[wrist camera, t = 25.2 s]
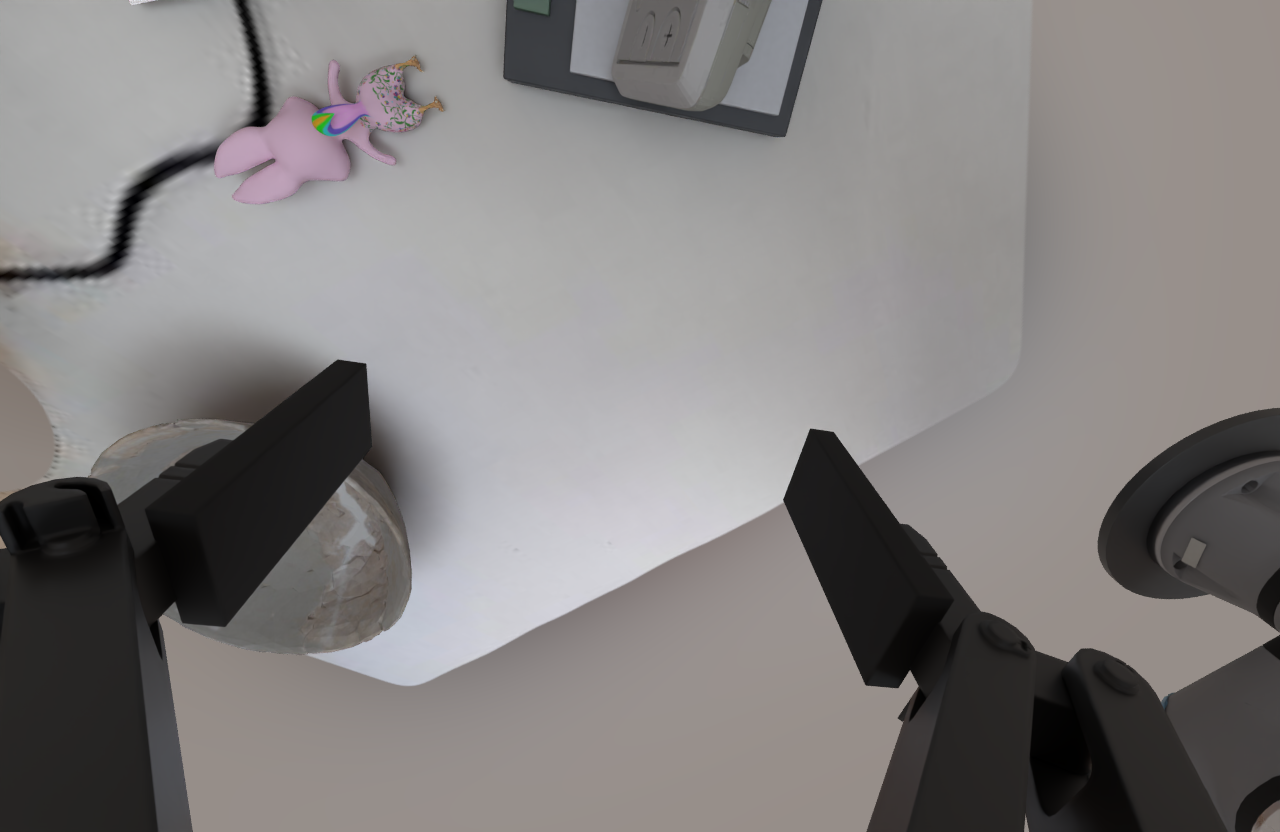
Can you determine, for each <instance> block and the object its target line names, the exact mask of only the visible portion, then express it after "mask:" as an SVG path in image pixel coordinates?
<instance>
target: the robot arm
mask: <svg viewBox="0 0 1280 832" xmlns="http://www.w3.org/2000/svg"><path fill="white" fill-rule="evenodd" d="M371 448H372V438H371V424H370V410H369V396H368V382H367V369H366V364H364V363H358V362H351V361H344V360H336V361H335V362H334V363H333V364H331V365H330V366H329V367H327V368H326V369H325V370H323V371H322V372H321V373H320V374H318V375H317V376H316V377H314V378H313V379H312V380H311V381H309V382H308V383H307V384H305V385H304V386H303V387H301V388H300V389H299V390H298V391H296V392H295V393H294V394H292V395H291V396H290V397H289V398H287V399H286V400H285V401H283V402H282V403H281V404H280V405H278V406H277V407H276V408H274V409H273V410H272V411H270V412H269V413H268V414H267V415H265V416H264V417H263V418H261V419H260V420H259V421H258V422H256V423H255V424H254V425H252V426H251V427H250V428H248V429H247V430H246V431H245V432H243V433H242V434H241V435H239V436H238V437H237V438H236V439H234V440H228V439H218V440H216V441H213V442H211V443H208V444H206V445H203V446H201V447H198V448H196V449H194V450H192V451H191V452H190V453H188V454H187V455H185V456H184V457H183V458H181V459H180V460H179V461H177V462H176V463H175V466H170V467H169V468H168V469H166V470H165V471H163V472H162V473H161V474H159V477H158V478H154V479H152V480H151V481H150V482H148V483H147V484H145V485H144V486H143V487H141V488H140V489H139V490H137V491H136V492H134V493H133V494H132V495H130V496H129V497H127V498H126V499H125V500H123V501H122V502H121V503H119V504H118V505H117V502H116V500H115V497H114V494H113V491H112V489H111V487H110V486H109V484H108V483H107V482H105V481H102V480H99V479H96V478H86V477H72V478H64V479H55V480H51V481H47V482H43V483H40V484H36V485H32V486H30V487H27V488H25V489H22V490H20V491H18V492H15V493H13V494H11V495H9V496H8V497H6V498H5V499H3V500H2V501H0V536H1V537H2V539H3V541H4V543H5V545H6V547H7V548H5V549H0V832H193V830H192V824H191V817H190V810H189V804H188V797H187V790H186V784H185V778H184V770H183V763H182V757H181V750H180V744H179V737H178V730H177V723H176V717H175V710H174V703H173V697H172V691H171V683H170V677H169V670H168V663H167V657H166V650H165V643H164V637H163V631H162V628H161V625H160V622H159V617H160V616H161V615H162V614H163V613H164V612H165V611H166V610H167V609H168V608H169V607H170V606H171V605H172V604H173V603H174V602H175V603H176V606H177V609H178V612H179V615H180V618H181V621H182V623H184V624H195V625H206V626H217V627H226V626H227V625H228V623H229V622H230V621H231V620H232V618H233V617H234V616H235V615H236V613H237V612H238V611H239V610H240V609H241V607H242V606H243V605H244V604H245V602H246V601H247V600H248V599H249V597H250V596H251V595H252V594H253V593H254V591H255V590H256V589H257V588H258V586H259V585H260V584H261V583H262V582H263V580H264V579H265V578H266V577H267V575H268V574H269V573H270V572H271V570H272V569H273V568H274V567H275V566H276V564H277V563H278V562H279V561H280V559H281V558H282V557H283V556H284V554H285V553H286V552H287V551H288V550H289V548H290V547H291V546H292V545H293V543H294V542H295V541H296V540H297V538H298V537H299V536H300V535H301V534H302V532H303V531H304V530H305V529H306V527H307V526H308V525H309V524H310V523H311V521H312V520H313V519H314V518H315V516H316V515H317V514H318V513H319V511H320V510H321V509H322V508H323V507H324V505H325V504H326V503H327V502H328V500H329V499H330V498H331V497H332V495H333V494H334V493H335V492H336V491H337V489H338V488H339V487H340V486H341V484H342V483H343V482H344V481H345V480H346V478H347V477H348V476H349V475H350V473H351V472H352V471H353V470H354V468H355V467H356V466H357V465H358V464H359V462H360V461H361V460H362V459H363V457H364V456H365V455H366V454H367V452H368V451H369V450H370V449H371ZM783 501H784V503H785V505H786V507H787V510H788V512H789V514H790V516H791V519H792V521H793V523H794V525H795V528H796V530H797V532H798V534H799V537H800V539H801V541H802V543H803V545H804V548H805V550H806V552H807V554H808V556H809V559H810V561H811V563H812V566H813V568H814V570H815V573H816V575H817V577H818V579H819V582H820V584H821V586H822V588H823V591H824V593H825V595H826V597H827V600H828V602H829V604H830V606H831V609H832V611H833V613H834V615H835V617H836V620H837V622H838V624H839V626H840V629H841V631H842V633H843V635H844V637H845V640H846V642H847V644H848V647H849V649H850V651H851V653H852V656H853V658H854V660H855V662H856V665H857V667H858V669H859V671H860V674H861V676H862V678H863V680H864V682H865V685H867V686H878V687H890V688H899V686H900V685H901V683H902V682H903V680H904V678H905V677H906V675H907V674H908V672H909V671H910V670H911V672H912V674H913V676H914V678H915V680H916V681H917V684H918V685H919V687H918V688H917V690H916V691H915V693H914V694H913V696H912V698H911V699H910V700H909V702H908V703H907V705H906V706H905V708H904V709H903V711H902V712H901V714H900V715H899V717H898V719H899V720H901V721H904V722H903V725H902V728H901V731H900V734H899V737H898V740H897V743H896V746H895V749H894V751H893V754H892V757H891V760H890V764H889V766H888V769H887V773H886V775H885V779H884V781H883V784H882V787H881V790H880V793H879V796H878V799H877V802H876V805H875V808H874V811H873V814H872V817H871V820H870V823H869V826H868V829H867V832H1024V825H1025V813H1026V818H1027V823H1028V828H1029V832H1280V635H1279V636H1277V637H1276V638H1274V639H1272V640H1270V641H1269V642H1267V643H1265V644H1263V646H1260V647H1258V648H1256V649H1254V650H1253V651H1251V652H1249V653H1247V654H1245V655H1244V656H1242V657H1240V658H1238V659H1236V660H1234V661H1232V662H1231V663H1229V664H1227V665H1225V666H1223V667H1221V668H1220V669H1218V670H1216V671H1214V672H1212V673H1210V674H1209V675H1207V676H1205V677H1203V678H1201V679H1199V680H1198V681H1196V682H1194V683H1192V684H1191V685H1189V686H1187V687H1185V688H1183V689H1181V690H1179V691H1177V692H1176V693H1171V694H1168V696H1166V697H1164V699H1163V700H1162V702H1160V700H1159V698H1158V696H1157V695H1156V693H1155V692H1154V690H1153V689H1152V688H1151V686H1150V685H1149V683H1148V682H1147V681H1146V680H1145V679H1144V678H1142V677H1141V676H1140V675H1139V674H1138V673H1137V672H1136V671H1135V670H1134V669H1133V668H1131V667H1130V666H1129V665H1126V663H1124V662H1123V661H1121V660H1119V659H1117V658H1114V657H1113V656H1111V655H1109V654H1107V653H1105V652H1101V651H1098V650H1094V649H1091V648H1090V649H1080V650H1079V651H1078V652H1077V653H1076V654H1075V655H1074V657H1073V658H1072V659H1071V660H1070V661H1069V662H1066V661H1063V660H1060V659H1057V658H1055V657H1052V656H1049V655H1046V654H1043V653H1040V652H1037V651H1035V649H1034V647H1033V646H1032V644H1031V643H1030V641H1029V640H1028V638H1027V637H1026V636H1024V635H1023V634H1022V633H1021V632H1020V631H1019V630H1018V629H1017V628H1016V627H1014V626H1013V625H1011V624H1010V623H1008V622H1006V621H1005V620H1003V619H1001V618H999V617H997V616H995V615H992V614H990V613H986V612H981V611H980V610H979V608H978V607H977V606H976V604H975V603H974V602H973V601H972V599H971V598H970V597H969V595H968V594H967V593H966V591H965V590H964V589H963V587H962V586H961V585H960V583H959V582H958V581H957V580H956V578H955V577H954V576H953V574H952V573H951V572H950V570H947V566H946V565H945V564H944V562H943V561H942V560H941V559H940V557H937V553H936V552H935V550H934V549H933V548H932V546H931V545H930V544H929V542H928V541H927V540H926V539H925V538H924V537H923V536H921V535H920V534H919V533H918V532H917V531H915V530H914V529H913V528H912V527H910V526H909V525H906V524H900V523H899V522H898V521H897V519H896V518H895V516H894V515H893V514H892V513H891V511H890V509H889V508H888V507H887V505H886V504H885V503H884V501H883V500H882V498H881V497H880V496H879V494H878V493H877V491H876V490H875V489H874V487H873V486H872V484H871V483H870V482H869V480H868V479H867V478H866V476H865V475H864V473H863V472H862V471H861V469H860V468H859V466H858V465H857V464H856V462H855V461H854V459H853V458H852V457H851V455H850V454H849V453H848V451H847V450H846V448H845V447H844V446H843V444H842V443H841V441H840V440H839V439H838V437H837V436H836V435H835V433H834V432H830V431H823V430H816V429H810V430H809V433H808V436H807V438H806V441H805V444H804V446H803V449H802V452H801V454H800V457H799V460H798V462H797V465H796V467H795V470H794V473H793V475H792V478H791V481H790V483H789V486H788V489H787V491H786V494H785V497H784V499H783ZM1147 548H1148V552H1149V555H1150V556H1151V558H1152V560H1153V561H1154V562H1155V563H1156V564H1158V565H1159V566H1160V567H1161V568H1163V569H1164V570H1165V571H1166V572H1168V573H1169V574H1170V575H1171V576H1173V577H1175V578H1177V579H1178V580H1180V581H1182V582H1184V583H1186V584H1188V585H1190V586H1193V587H1195V588H1197V589H1199V590H1202V591H1204V592H1206V593H1208V594H1211V595H1213V596H1215V597H1217V598H1220V599H1222V600H1224V601H1227V602H1229V603H1231V604H1233V605H1236V606H1238V607H1240V608H1243V609H1245V610H1247V611H1249V612H1251V613H1253V614H1255V615H1257V616H1258V617H1259V618H1261V619H1263V621H1265V622H1266V623H1268V624H1269V625H1270V626H1271V627H1273V628H1274V629H1276V630H1277V631H1278V632H1280V451H1264V452H1257V453H1252V454H1248V455H1244V456H1241V457H1237V458H1234V459H1232V460H1229V461H1226V462H1224V463H1222V464H1219V465H1217V466H1215V467H1213V468H1211V469H1209V470H1207V471H1206V472H1204V473H1202V474H1201V475H1199V476H1197V477H1196V478H1194V479H1193V480H1191V481H1190V482H1189V483H1187V484H1186V485H1185V486H1183V487H1182V488H1181V489H1180V490H1179V491H1177V492H1176V493H1175V494H1174V495H1173V496H1172V497H1171V498H1170V499H1169V500H1168V501H1167V502H1166V503H1165V505H1164V506H1163V507H1162V508H1161V510H1160V511H1159V512H1158V514H1157V515H1156V517H1155V519H1154V521H1153V523H1152V525H1151V527H1150V530H1149V533H1148V538H1147Z"/></svg>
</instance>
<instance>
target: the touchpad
mask: <svg viewBox="0 0 1280 832" xmlns="http://www.w3.org/2000/svg"><path fill="white" fill-rule="evenodd" d="M150 1H156V0H129V2H130V4H131V5H135V4H140V3H145V2H150Z"/></svg>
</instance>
